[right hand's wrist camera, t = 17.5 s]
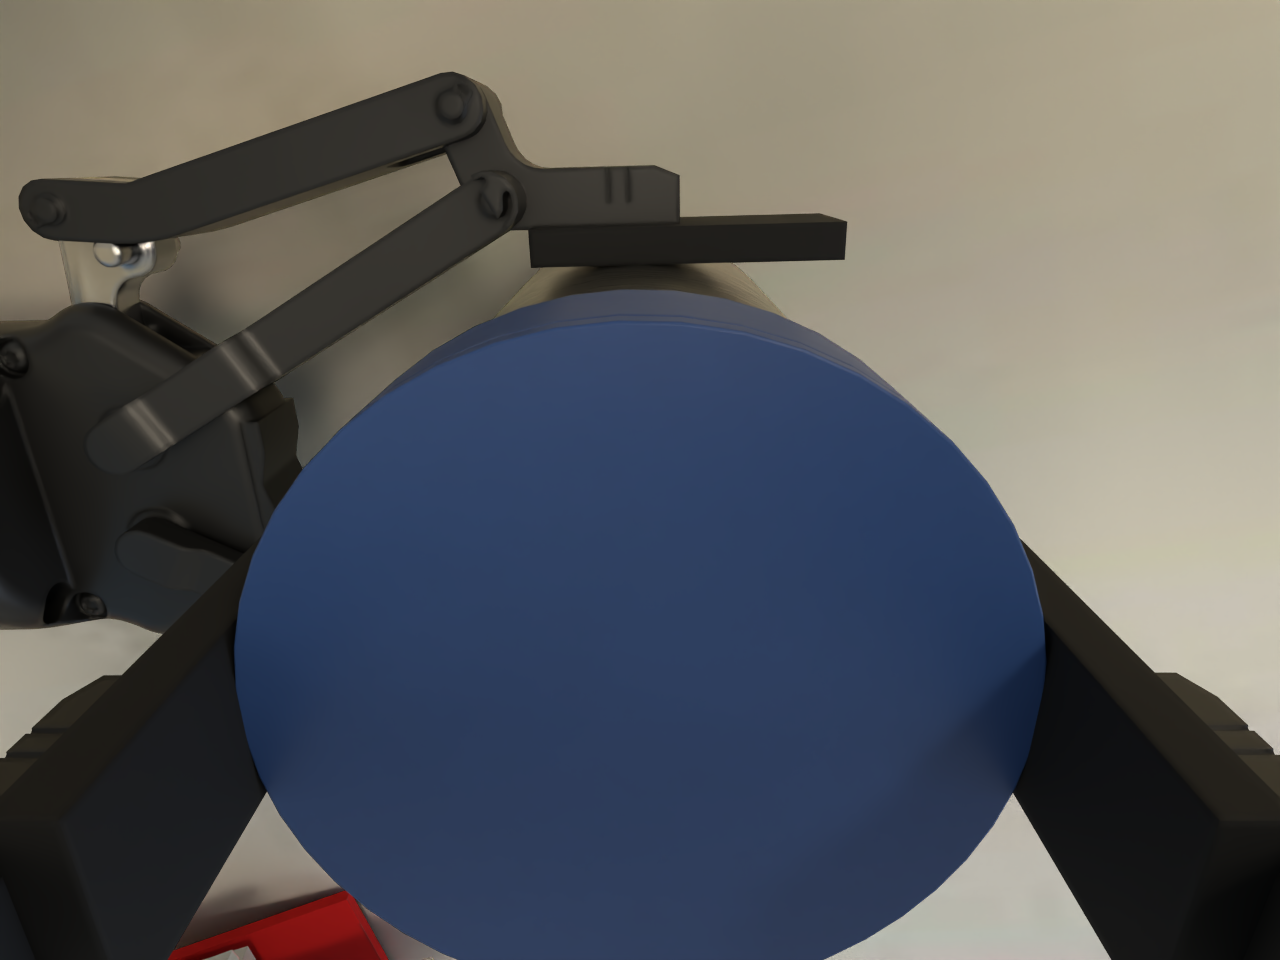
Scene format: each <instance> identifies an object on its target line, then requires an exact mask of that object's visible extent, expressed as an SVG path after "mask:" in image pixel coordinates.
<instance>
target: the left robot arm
mask: <svg viewBox="0 0 1280 960" xmlns="http://www.w3.org/2000/svg"><path fill="white" fill-rule="evenodd" d="M444 154H447V156H448V158H449V160H450V163H451V165H452V167H453V169H454V171H455V174H456V176H457V178H458V180H459V183H460V185H461V186H460V187H458V188H456V189H455V190H453V191H452V192H450V193H449V194H447V195H446V196H444V197H443V198H441V199H440V200H438V201H437V202H435V203H434V204H432V205H431V206H429V207H428V208H426V209H425V210H423V211H422V212H420V213H419V214H417V215H416V216H414V217H413V218H411V219H410V220H408V221H407V222H405V223H404V224H402V225H401V226H399V227H398V228H396V229H395V230H393V231H392V232H390V233H389V234H387V235H386V236H384V237H383V238H381V239H380V240H378V241H377V242H375V243H374V244H372V245H371V246H369V247H368V248H366V249H365V250H363V251H362V252H360V253H359V254H357V255H356V256H354V257H353V258H351V259H350V260H348V261H347V262H345V263H344V264H342V265H341V266H339V267H338V268H336V269H335V270H333V271H332V272H330V273H329V274H327V275H326V276H324V277H323V278H321V279H320V280H318V281H317V282H315V283H314V284H312V285H311V286H309V287H308V288H306V289H305V290H303V291H302V292H300V293H299V294H297V295H296V296H294V297H293V298H291V299H290V300H288V301H287V302H285V303H284V304H282V305H281V306H279V307H278V308H276V309H275V310H273V311H272V312H270V313H269V314H267V315H266V316H264V317H263V318H261V319H260V320H258V321H257V322H255V323H254V324H252V325H251V326H249V327H247V328H246V329H244V330H243V331H241V332H239V333H238V334H236V335H234V336H232V337H230V338H229V339H227V340H225V341H223V342H222V343H220V344H218V345H217V344H215V343H213V342H212V341H210V340H208V339H207V338H205V337H203V336H202V335H200V334H198V333H197V332H195V331H193V330H192V329H190V328H188V327H187V326H185V325H183V324H182V323H180V322H178V321H177V320H175V319H173V318H172V317H170V316H168V315H167V314H165V313H163V312H162V311H160V310H158V309H157V308H155V307H153V306H152V305H150V304H148V303H146V302H144V301H142V300H140V299H139V290H140V286H141V283H142V282H143V281H144V279H145V278H146V277H148V276H149V275H151V274H154V273H158V272H162V271H166V270H167V269H169V268H170V267H172V265H173V264H174V263H175V261H176V258H177V255H178V251H179V250H180V240H179V238H178V237H182V236H188V235H194V234H200V233H206V232H212V231H216V230H220V229H224V228H228V227H232V226H235V225H238V224H241V223H243V222H246V221H249V220H252V219H255V218H258V217H261V216H264V215H267V214H270V213H273V212H276V211H279V210H282V209H285V208H288V207H291V206H294V205H297V204H300V203H303V202H306V201H308V200H311V199H314V198H317V197H320V196H323V195H326V194H329V193H332V192H335V191H338V190H341V189H344V188H347V187H350V186H353V185H356V184H359V183H362V182H365V181H368V180H371V179H374V178H376V177H379V176H382V175H385V174H388V173H391V172H394V171H397V170H400V169H403V168H406V167H409V166H412V165H415V164H418V163H421V162H424V161H427V160H430V159H433V158H436V157H439V156H441V155H444ZM19 210H20V212H21V214H22V217H23V219H24V221H25V222H26V223H27V225H28V226H29V227H30V228H31V229H32V231H34V232H35V233H37V234H39V235H40V236H42V237H43V238H47V239H51V240H55V241H59V245H60V250H61V254H62V259H63V264H64V269H65V274H66V278H67V283H68V288H69V293H70V297H71V302H72V306H69V307H67V308H65V309H63V310H62V311H60V312H59V313H58V314H56V315H55V316H54V317H52V318H51V319H49V320H34V321H0V630H13V629H41V628H51V627H57V626H63V625H69V624H74V623H80V622H85V621H91V620H98V619H116V620H121V621H125V622H129V623H132V624H135V625H137V626H140V627H142V628H145V629H147V630H149V631H152V632H156V633H161V634H164V633H165V632H166V631H167V630H168V629H169V628H170V627H171V626H172V625H173V624H174V623H175V622H176V621H177V620H178V619H179V618H180V617H181V616H182V615H183V614H184V613H185V612H186V611H187V610H188V609H189V608H190V607H191V606H192V605H193V604H194V603H195V602H196V601H197V600H198V599H199V598H200V597H201V596H202V595H203V594H204V593H205V592H206V591H207V590H208V589H209V588H210V587H211V586H212V585H213V584H214V583H215V582H216V581H217V580H218V579H219V578H220V577H221V576H222V575H223V574H224V573H225V572H226V571H227V570H228V569H229V568H230V567H231V566H232V565H233V564H234V563H235V562H236V561H237V560H238V559H239V558H240V557H241V556H242V555H243V554H244V553H245V552H246V551H247V550H248V549H249V548H250V547H251V546H252V545H253V544H254V543H255V542H256V541H257V540H258V539H259V538H260V537H261V536H262V535H263V533H264V530H265V528H266V526H267V524H268V522H269V520H270V518H271V516H272V514H273V512H274V510H275V509H276V507H277V506H278V504H279V503H280V501H281V500H282V498H283V497H284V495H285V494H286V493H287V491H288V490H289V488H290V487H291V485H292V484H293V482H294V481H295V480H296V478H297V477H298V475H299V474H300V472H301V471H302V467H301V465H300V463H299V461H298V459H297V456H296V451H297V439H298V428H299V426H298V421H297V416H296V410H295V405H294V400H293V398H283V396H282V394H281V392H280V391H279V389H278V388H277V387H276V385H275V384H274V382H276V381H277V380H279V379H280V378H282V377H284V376H285V375H287V374H288V373H290V372H291V371H293V370H294V369H296V368H298V367H299V366H301V365H302V364H304V363H305V362H307V361H308V360H310V359H312V358H313V357H315V356H316V355H318V354H319V353H320V352H322V351H324V350H325V349H327V348H328V347H330V346H331V345H333V344H334V343H336V342H338V341H339V340H341V339H342V338H344V337H345V336H347V335H348V334H350V333H352V332H353V331H355V330H356V329H358V328H359V327H361V326H362V325H364V324H365V323H367V322H369V321H370V320H372V319H373V318H375V317H376V316H378V315H379V314H381V313H383V312H384V311H386V310H387V309H389V308H390V307H392V306H393V305H395V304H397V303H398V302H400V301H401V300H403V299H404V298H406V297H407V296H409V295H411V294H412V293H414V292H415V291H417V290H418V289H420V288H421V287H423V286H425V285H426V284H428V283H429V282H431V281H432V280H434V279H435V278H437V277H439V276H440V275H442V274H443V273H445V272H446V271H448V270H449V269H451V268H453V267H454V266H456V265H457V264H459V263H460V262H462V261H463V260H465V259H467V258H468V257H470V256H471V255H473V254H474V253H476V252H477V251H479V250H481V249H482V248H484V247H485V246H487V245H488V244H490V243H491V242H493V241H495V240H496V239H498V238H499V237H501V236H502V235H504V234H505V233H507V232H509V231H510V230H528V233H529V246H530V260H531V268H545V267H583V266H622V265H660V264H698V263H737V262H775V261H813V260H845V246H846V231H847V222H846V221H843V220H840V219H836V218H833V217H830V216H826V215H823V214H820V213H818V214H780V215H743V216H705V217H680V175H677V174H675V173H672V172H670V171H667V170H665V169H662V168H660V167H657V166H655V165H643V166H607V167H570V168H545V167H540V166H537V165H534V164H532V163H531V162H529V161H528V160H526V159H525V158H524V157H523V156H522V154H521V153H520V152H519V151H518V149H517V147H516V145H515V143H514V141H513V139H512V136H511V134H510V131H509V129H508V127H507V124H506V122H505V119H504V117H503V113H502V107H501V103H500V101H499V99H498V97H497V96H496V94H495V93H494V92H493V91H492V90H491V89H489V88H488V87H487V86H485V85H483V84H481V83H479V82H477V81H475V80H473V79H471V78H468V77H466V76H464V75H461V74H458V73H455V72H446V73H440V74H437V75H434V76H431V77H428V78H425V79H423V80H420V81H417V82H414V83H411V84H408V85H406V86H403V87H400V88H397V89H394V90H391V91H388V92H386V93H383V94H380V95H377V96H374V97H371V98H368V99H366V100H363V101H360V102H357V103H354V104H351V105H348V106H346V107H343V108H340V109H337V110H334V111H331V112H328V113H326V114H323V115H320V116H317V117H314V118H311V119H308V120H306V121H303V122H300V123H297V124H294V125H291V126H289V127H286V128H283V129H280V130H277V131H274V132H271V133H269V134H266V135H263V136H260V137H257V138H254V139H251V140H249V141H246V142H243V143H240V144H237V145H234V146H231V147H229V148H226V149H223V150H220V151H217V152H214V153H211V154H209V155H206V156H203V157H200V158H197V159H194V160H192V161H189V162H186V163H183V164H180V165H177V166H174V167H172V168H169V169H166V170H163V171H160V172H157V173H154V174H152V175H149V176H146V177H143V178H132V177H84V178H53V179H38V180H32V181H30V182H29V183H27V184H26V185H25V186H23V188H22V190H21V192H20V195H19Z"/></svg>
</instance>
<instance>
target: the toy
mask: <svg viewBox="0 0 1280 960" xmlns="http://www.w3.org/2000/svg"><path fill="white" fill-rule="evenodd" d="M168 960H389V959H388V958H387V956H386V954H385V952H384V950H383V949H382V947H381V945H380V943H379V942H378V940H377V938H376V936H375V934H374V933H373V931H372V929H371V927H370V925H369V924H368V922H367V920H366V918H365V917H364V915H363V913H362V911H361V909H360V908H359V906H358V904H357V902H356V900H355V899H354V897H353V896H351V895H350V894H349V893H348V892H347V891H346V890H345V891H342V892H339V893H336V894H333V895H331V896H328V897H325V898H322V899H319V900H316V901H313V902H311V903H308V904H305V905H302V906H299V907H296V908H293V909H291V910H288V911H285V912H282V913H279V914H276V915H273V916H271V917H268V918H265V919H262V920H259V921H256V922H254V923H251V924H248V925H245V926H242V927H239V928H236V929H234V930H231V931H228V932H225V933H222V934H219V935H216V936H214V937H211V938H208V939H205V940H202V941H199V942H197V943H194V944H191V945H188V946H185V947H182V948H179V949H177V950H174V951H173V952H172V953H171V955H170V957H169V958H168ZM423 960H434V959H433V957H430V958H427V959H423Z"/></svg>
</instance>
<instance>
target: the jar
mask: <svg viewBox="0 0 1280 960" xmlns="http://www.w3.org/2000/svg"><path fill="white" fill-rule="evenodd" d="M622 289H625V290H674V291H680V292H687V293H693V294H700V295H706V296H713V297H719V298H725V299H729V300H732V301H735V302H739V303H742V304H745V305H749V306H752V307H756V308H759V309H762V310H766V311H769V312H772V313H775V314H777V315H779V316H782V317H784V318H786V317H785V316H784V315H783V313H782V312H781V311H780V310H779V309H778V308H777V307H776V306H775V305H774V304H773V303H772V302H771V300H770V299H769V298H768V297H767V296H766V295H765V294H764V293H763V292H762V291H761V290H760V289H759V288H758V286H757V285H756V284H755V283H754V282H753V281H752V280H751V279H750V278H749V277H748V276H747V275H745V274H744V273H743V272H742V271H741V270H740V269H739V268H738V267H737V266H735V265H734V264H732V263H698V264H660V265H622V266H583V267H545V268H542V269H540V270H539V271H538V272H537V273H536V274H535V275H534V276H533V277H532V278H531V279H530V280H529V281H528V282H527V283H526V284H525V285H524V286H523V287H522V288H521V289H520V290H519V291H518V293H517V294H516V295H515V296H514V297H513V298H512V299H511V300H510V301H509V302H508V303H507V304H506V305H505V307H504V308H503V309H502V310H501V311H500V312H499V313H498V314H497V315H496V316H495V317H494V318H497V317H499V316H502V315H504V314H507V313H509V312H512V311H514V310H517V309H519V308H522V307H526V306H530V305H534V304H538V303H542V302H546V301H550V300H554V299H558V298H562V297H566V296H570V295H577V294H586V293H595V292H604V291H613V290H622ZM494 318H493V319H494ZM786 319H787V318H786Z"/></svg>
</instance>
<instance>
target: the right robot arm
mask: <svg viewBox="0 0 1280 960" xmlns="http://www.w3.org/2000/svg"><path fill="white" fill-rule="evenodd" d="M261 537H262V536H261ZM261 537H260V538H259V539H258V540H257V541H256V542H255V543H254V544H253V545H252V546H251V547H250V548H249V549H248V550H247V551H246V552H245V553H244V554H243V555H242V556H241V557H240V558H239V559H238V560H237V561H236V562H235V563H234V564H233V565H232V566H231V567H230V568H229V569H228V570H227V571H226V572H225V573H224V574H223V575H222V576H221V577H220V578H219V579H218V580H217V581H216V582H215V583H214V584H213V585H212V586H211V587H210V588H209V589H208V590H207V591H206V592H205V593H204V594H203V595H202V596H201V597H200V598H199V599H198V600H197V601H196V602H195V603H194V604H193V605H192V606H191V607H190V608H189V609H188V610H187V611H186V612H185V613H184V614H183V615H182V616H181V617H180V618H179V619H178V620H177V621H176V622H175V623H174V624H173V625H172V626H171V627H170V628H169V629H168V630H167V631H166V632H165V633H164V634H163V635H162V636H161V637H160V638H159V639H158V640H157V641H156V642H155V643H154V644H153V645H152V646H151V647H150V648H149V649H148V650H147V651H146V652H145V653H144V654H143V655H142V656H141V657H140V658H139V659H138V660H137V661H136V662H135V663H134V664H133V665H132V666H131V667H130V668H129V669H128V670H127V671H126V672H125V673H124V674H123V675H104V676H102V677H100V678H98V679H97V680H95V681H93V682H92V683H90V684H88V685H87V686H85V687H83V688H81V689H80V690H78V691H76V692H75V693H73V694H71V695H69V696H68V697H66V698H64V699H63V700H61V701H60V702H59V703H58V704H57V705H56V706H55V707H54V708H53V709H52V710H51V711H50V712H49V713H48V714H46V715H45V716H44V717H43V718H42V719H41V720H40V721H39V722H38V723H37V724H36V725H35V726H34V727H33V728H32V732H31V734H25V735H24V736H23V737H22V738H21V739H20V740H19V741H18V742H17V743H15V744H14V745H13V746H12V747H11V748H10V749H9V750H8V751H7V752H6V753H7V755H6V757H5V758H0V960H168V958H169V957H170V955H171V953H172V952H173V950H174V948H175V947H176V945H177V943H178V941H179V940H180V938H181V936H182V935H183V933H184V931H185V930H186V928H187V926H188V925H189V923H190V921H191V919H192V918H193V916H194V914H195V913H196V911H197V909H198V908H199V906H200V904H201V902H202V901H203V899H204V897H205V896H206V894H207V892H208V891H209V889H210V887H211V885H212V884H213V882H214V880H215V879H216V877H217V875H218V874H219V872H220V870H221V868H222V867H223V865H224V863H225V862H226V860H227V858H228V857H229V855H230V853H231V852H232V850H233V848H234V846H235V845H236V843H237V841H238V840H239V838H240V836H241V835H242V833H243V831H244V829H245V828H246V826H247V824H248V823H249V821H250V819H251V818H252V816H253V814H254V812H255V811H256V809H257V807H258V806H259V804H260V802H261V801H262V799H263V797H264V795H265V794H266V792H267V790H266V788H265V786H264V785H263V783H262V781H261V779H260V777H259V775H258V772H257V769H256V766H255V764H254V761H253V758H252V755H251V752H250V749H249V745H248V741H247V737H246V733H245V728H244V724H243V719H242V715H241V710H240V706H239V701H238V696H237V692H236V686H235V665H234V642H235V633H236V625H237V617H238V608H239V601H240V597H241V594H242V590H243V587H244V583H245V580H246V576H247V573H248V570H249V566H250V563H251V559H252V556H253V554H254V552H255V549H256V547H257V545H258V543H259V541H260V539H261ZM1020 541H1021V543H1022V546H1023V548H1024V550H1025V553H1026V555H1027V558H1028V560H1029V562H1030V565H1031V567H1032V570H1033V574H1034V578H1035V582H1036V587H1037V591H1038V595H1039V599H1040V604H1041V608H1042V612H1043V618H1044V633H1045V648H1046V673H1045V682H1044V687H1043V693H1042V698H1041V702H1040V707H1039V711H1038V716H1037V720H1036V724H1035V729H1034V733H1033V738H1032V742H1031V746H1030V751H1029V754H1028V758H1027V761H1026V764H1025V766H1024V769H1023V771H1022V773H1021V776H1020V778H1019V781H1018V783H1017V785H1016V788H1015V790H1014V792H1013V794H1014V795H1015V797H1016V799H1017V800H1018V802H1019V804H1020V805H1021V807H1022V809H1023V811H1024V812H1025V814H1026V816H1027V817H1028V819H1029V821H1030V822H1031V824H1032V826H1033V827H1034V829H1035V831H1036V833H1037V834H1038V836H1039V838H1040V839H1041V841H1042V843H1043V844H1044V846H1045V848H1046V850H1047V851H1048V853H1049V855H1050V856H1051V858H1052V860H1053V861H1054V863H1055V865H1056V867H1057V868H1058V870H1059V872H1060V873H1061V875H1062V877H1063V878H1064V880H1065V882H1066V884H1067V885H1068V887H1069V889H1070V890H1071V892H1072V894H1073V895H1074V897H1075V899H1076V900H1077V902H1078V904H1079V906H1080V907H1081V909H1082V911H1083V912H1084V914H1085V916H1086V917H1087V919H1088V921H1089V923H1090V924H1091V926H1092V928H1093V929H1094V931H1095V933H1096V934H1097V936H1098V938H1099V940H1100V941H1101V943H1102V945H1103V946H1104V948H1105V950H1106V951H1107V953H1108V955H1109V957H1110V958H1111V960H1280V755H1275V754H1274V752H1273V748H1272V747H1271V746H1270V745H1269V744H1268V743H1267V742H1266V741H1264V740H1263V739H1262V738H1261V737H1260V736H1259V735H1258V734H1257V733H1256V732H1255V731H1249V730H1248V725H1247V724H1246V723H1245V722H1244V721H1243V720H1242V719H1241V718H1240V717H1239V716H1238V715H1236V714H1235V713H1234V712H1233V711H1232V710H1231V709H1230V708H1229V707H1228V706H1227V705H1226V704H1225V703H1224V702H1222V701H1221V700H1220V699H1219V698H1218V697H1217V696H1215V695H1213V694H1212V693H1210V692H1208V691H1207V690H1205V689H1203V688H1201V687H1200V686H1198V685H1196V684H1195V683H1193V682H1191V681H1189V680H1188V679H1186V678H1184V677H1183V676H1181V675H1179V674H1177V673H1154V672H1153V671H1152V670H1151V669H1150V668H1149V667H1148V666H1147V665H1146V664H1145V663H1144V662H1143V661H1142V660H1141V659H1140V658H1139V657H1138V656H1137V655H1136V654H1135V653H1134V652H1133V651H1132V650H1131V649H1130V648H1129V647H1128V646H1127V645H1126V644H1125V643H1124V642H1123V641H1122V640H1121V639H1120V638H1119V637H1118V636H1117V635H1116V634H1115V633H1114V632H1113V631H1112V630H1111V629H1110V628H1109V627H1108V626H1107V625H1106V624H1105V623H1104V622H1103V621H1102V620H1101V619H1100V618H1099V617H1098V616H1097V615H1096V614H1095V613H1094V612H1093V611H1092V610H1091V609H1090V608H1089V607H1088V606H1087V605H1086V604H1085V603H1084V602H1083V601H1082V600H1081V599H1080V598H1079V597H1078V596H1077V595H1076V594H1075V593H1074V592H1073V591H1072V590H1071V589H1070V588H1069V587H1068V586H1067V585H1066V584H1065V583H1064V582H1063V581H1062V580H1061V579H1060V578H1059V577H1058V576H1057V575H1056V574H1055V573H1054V572H1053V571H1052V570H1051V569H1050V568H1049V567H1048V566H1047V565H1046V564H1045V563H1044V562H1043V561H1042V560H1041V559H1040V558H1039V557H1038V556H1037V555H1036V554H1035V553H1034V552H1033V551H1032V550H1031V549H1030V548H1029V547H1028V546H1027V545H1026V544H1025V543H1024V542H1023V541H1022V540H1021V539H1020Z"/></svg>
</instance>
